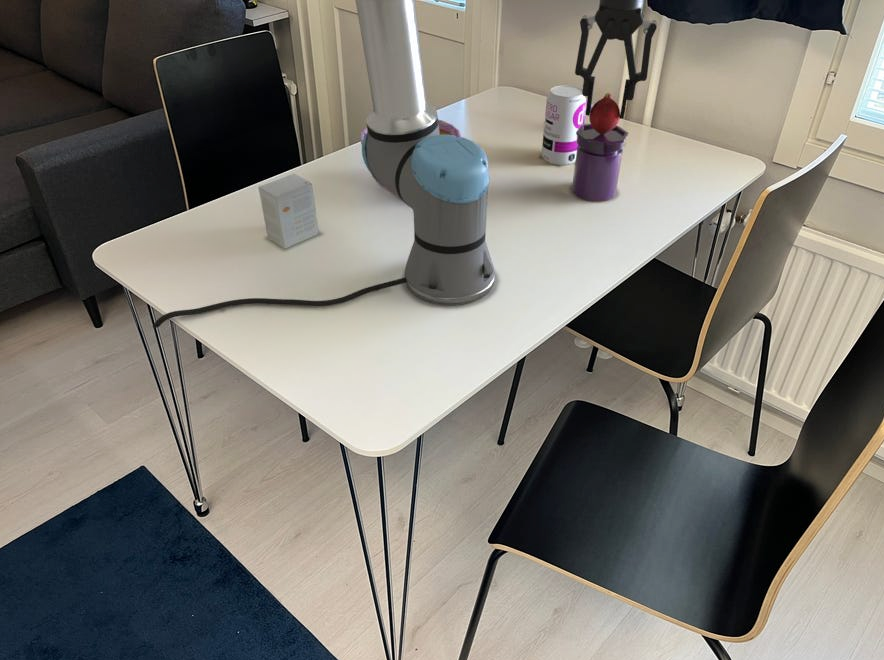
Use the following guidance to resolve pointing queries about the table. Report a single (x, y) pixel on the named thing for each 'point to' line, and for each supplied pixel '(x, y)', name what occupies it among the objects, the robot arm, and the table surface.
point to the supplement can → (562, 124)
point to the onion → (604, 115)
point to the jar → (597, 163)
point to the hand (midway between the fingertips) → (605, 114)
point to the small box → (289, 210)
